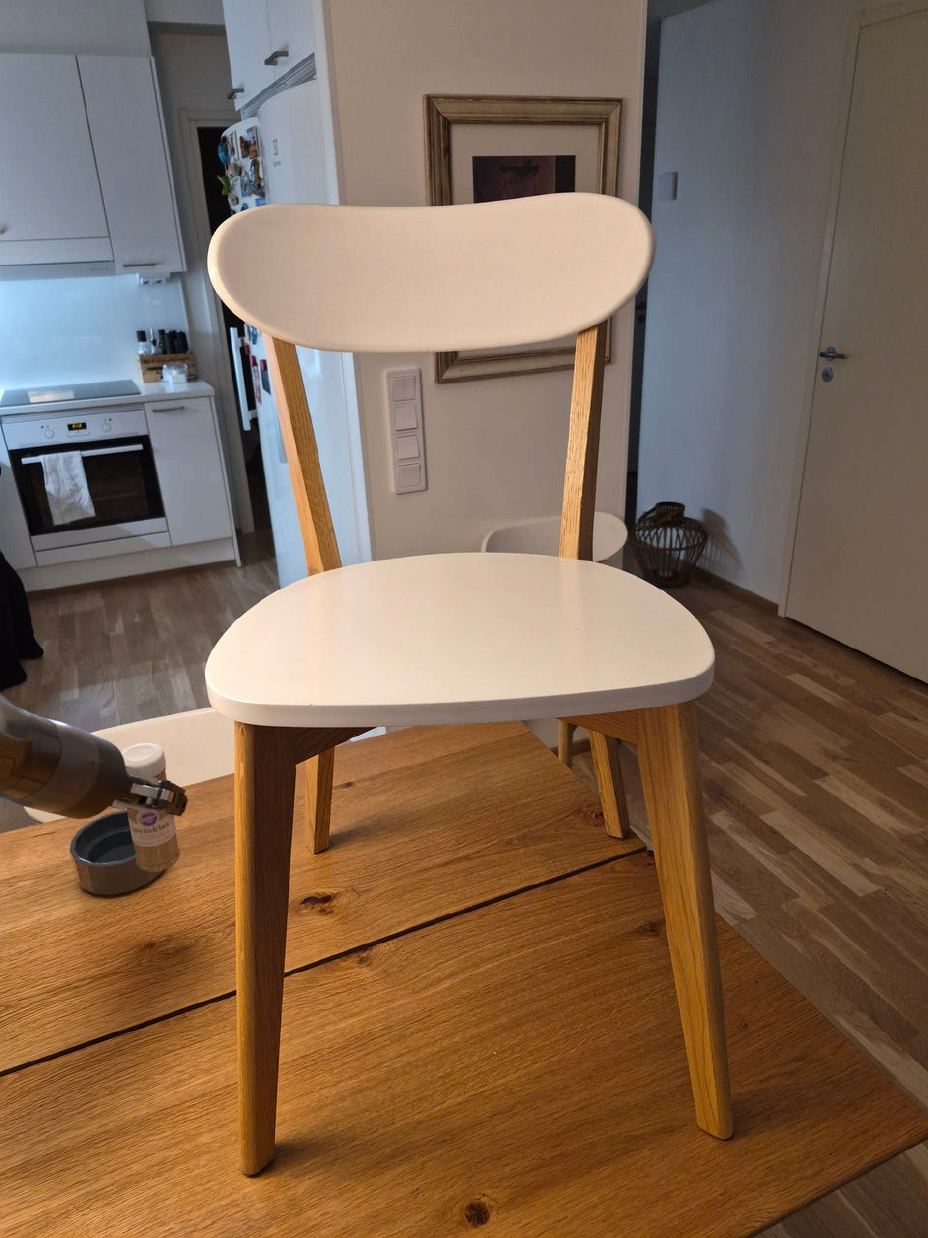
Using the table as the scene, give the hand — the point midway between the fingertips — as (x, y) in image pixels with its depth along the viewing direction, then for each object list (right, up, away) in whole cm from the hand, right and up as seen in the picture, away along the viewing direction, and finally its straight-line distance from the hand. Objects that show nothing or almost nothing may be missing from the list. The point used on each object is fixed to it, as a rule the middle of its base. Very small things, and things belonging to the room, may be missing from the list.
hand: (161, 802), depth 88 cm
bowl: (-11, -13, +18) cm, 25 cm away
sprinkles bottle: (0, -6, +1) cm, 7 cm away
